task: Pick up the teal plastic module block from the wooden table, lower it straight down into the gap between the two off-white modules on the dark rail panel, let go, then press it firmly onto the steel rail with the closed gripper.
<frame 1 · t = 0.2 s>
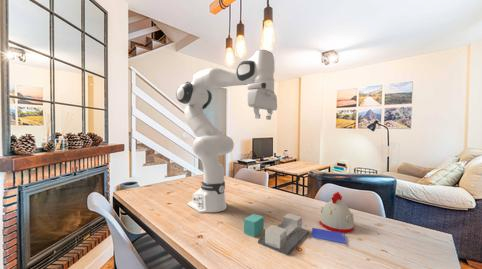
hand: (263, 119, 91), 47 cm above the table, tool pointing down, fingers open, 8 cm apart
rail panel: (284, 237, 81), on the table
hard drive: (328, 238, 83), on the table
kitchen timer: (336, 226, 93), on the table
module block: (253, 232, 86), on the table
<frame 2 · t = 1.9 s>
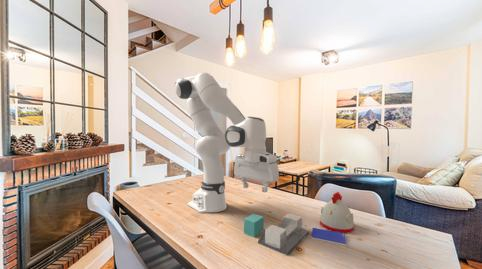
hand: (254, 189, 85), 18 cm above the table, tool pointing down, fingers open, 8 cm apart
nothing on the table moved.
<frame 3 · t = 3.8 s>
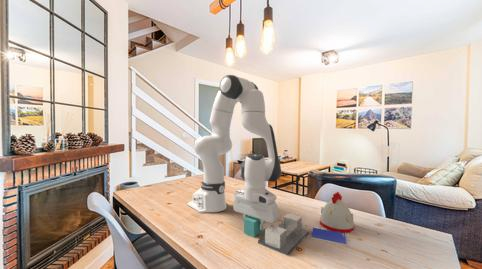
hand: (253, 226, 85), 2 cm above the table, tool pointing down, fingers closed on module block, 5 cm apart
module block: (253, 232, 85), on the table, touching gripper
everything else where it was.
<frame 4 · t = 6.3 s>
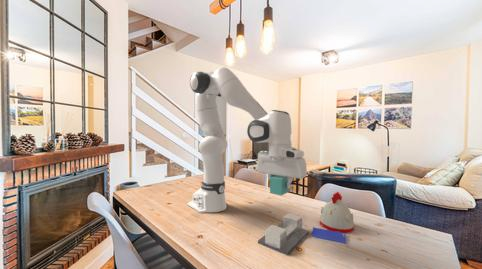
hand: (280, 186, 81), 20 cm above the table, tool pointing down, fingers closed on module block, 5 cm apart
module block: (280, 192, 81), point 18 cm above the table, touching gripper
everything else where it was.
when the fingers open (6 cm above the table, at t = 8.9 s): module block drops 1 cm, resting on rail panel.
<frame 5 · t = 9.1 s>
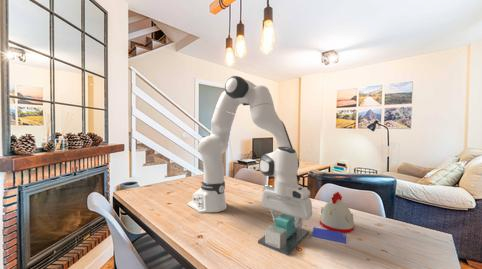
hand: (284, 223, 81), 6 cm above the table, tool pointing down, fingers open, 7 cm apart
module block: (284, 232, 81), point 2 cm above the table, touching rail panel
everything else where it was.
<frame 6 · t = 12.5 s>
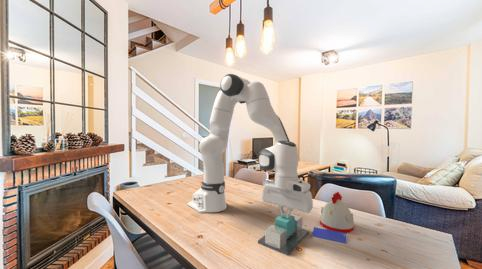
hand: (285, 217, 81), 8 cm above the table, tool pointing down, fingers closed, pressing on module block
module block: (284, 232, 81), point 2 cm above the table, touching gripper, rail panel
everything else where it was.
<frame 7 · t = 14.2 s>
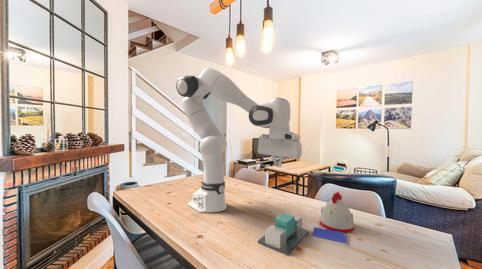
hand: (277, 166, 91), 26 cm above the table, tool pointing down, fingers closed
module block: (284, 232, 81), point 2 cm above the table, touching rail panel
everything else where it was.
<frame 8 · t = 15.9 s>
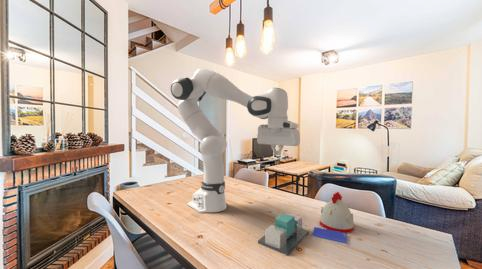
hand: (276, 155, 93), 31 cm above the table, tool pointing down, fingers closed
nothing on the table moved.
at the end: module block 0.1 cm off-centre on the rail panel, point 2.0 cm above the rail panel's base; module block tilted 0°; the gripper is holding nothing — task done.
